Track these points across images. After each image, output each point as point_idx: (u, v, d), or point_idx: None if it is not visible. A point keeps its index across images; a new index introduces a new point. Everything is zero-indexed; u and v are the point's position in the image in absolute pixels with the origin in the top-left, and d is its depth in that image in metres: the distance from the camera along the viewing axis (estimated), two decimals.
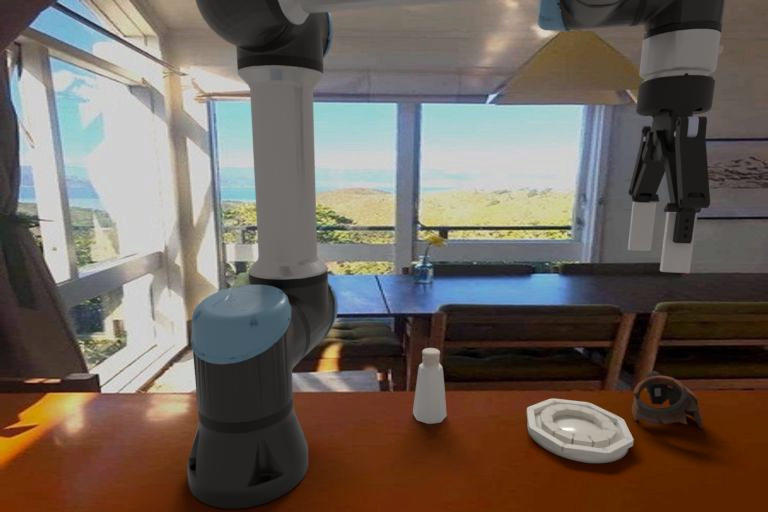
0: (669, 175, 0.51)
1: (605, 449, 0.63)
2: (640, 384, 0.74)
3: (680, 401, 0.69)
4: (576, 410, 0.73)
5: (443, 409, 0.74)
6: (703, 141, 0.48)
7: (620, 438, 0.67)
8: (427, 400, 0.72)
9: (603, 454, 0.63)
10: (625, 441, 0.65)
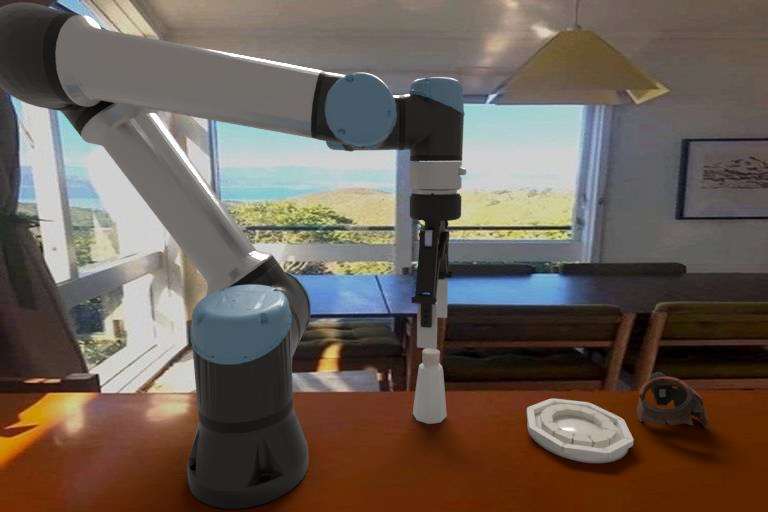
0: None
1: (605, 449, 0.63)
2: (645, 385, 0.74)
3: (686, 402, 0.68)
4: (576, 410, 0.73)
5: (443, 409, 0.74)
6: (435, 250, 0.63)
7: (620, 438, 0.67)
8: (427, 400, 0.72)
9: (603, 454, 0.63)
10: (625, 441, 0.65)
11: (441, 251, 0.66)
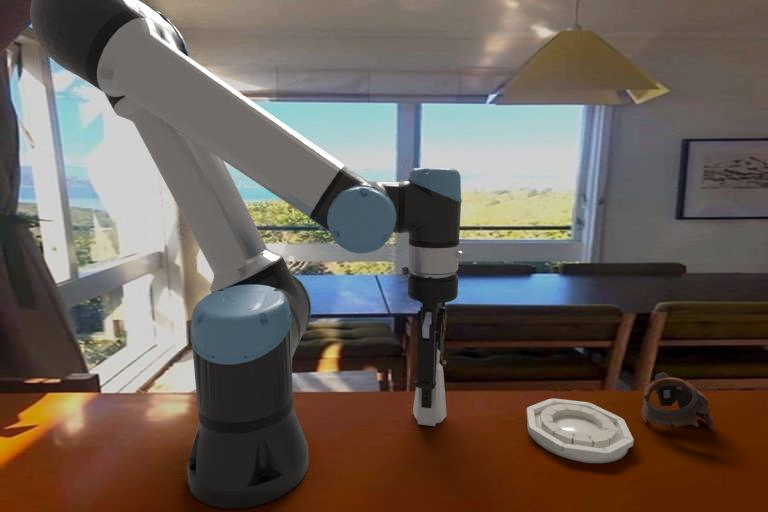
0: None
1: (605, 449, 0.63)
2: (650, 386, 0.74)
3: (691, 403, 0.68)
4: (576, 410, 0.73)
5: (443, 409, 0.74)
6: (432, 343, 0.66)
7: (620, 438, 0.67)
8: None
9: (603, 454, 0.63)
10: (625, 441, 0.65)
11: (438, 335, 0.70)
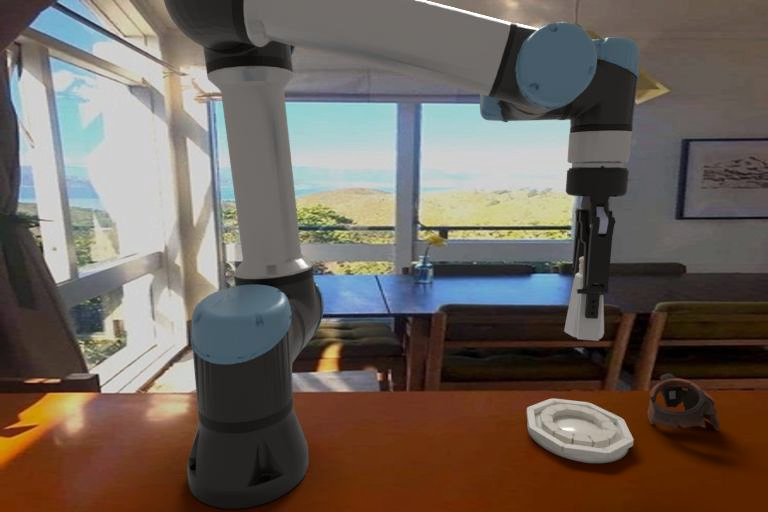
0: (585, 260, 0.62)
1: (605, 449, 0.63)
2: (656, 387, 0.73)
3: (698, 404, 0.68)
4: (576, 410, 0.73)
5: (602, 324, 0.66)
6: (610, 239, 0.58)
7: (620, 438, 0.67)
8: None
9: (603, 454, 0.63)
10: (625, 441, 0.65)
11: None
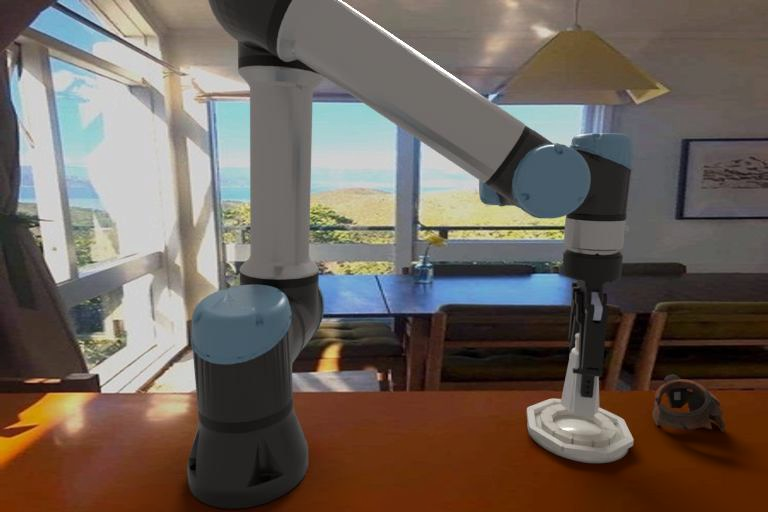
0: (580, 341, 0.64)
1: (605, 449, 0.63)
2: (661, 388, 0.73)
3: (704, 406, 0.67)
4: None
5: (598, 399, 0.68)
6: (604, 326, 0.60)
7: (620, 438, 0.67)
8: None
9: (603, 454, 0.63)
10: (625, 441, 0.65)
11: None
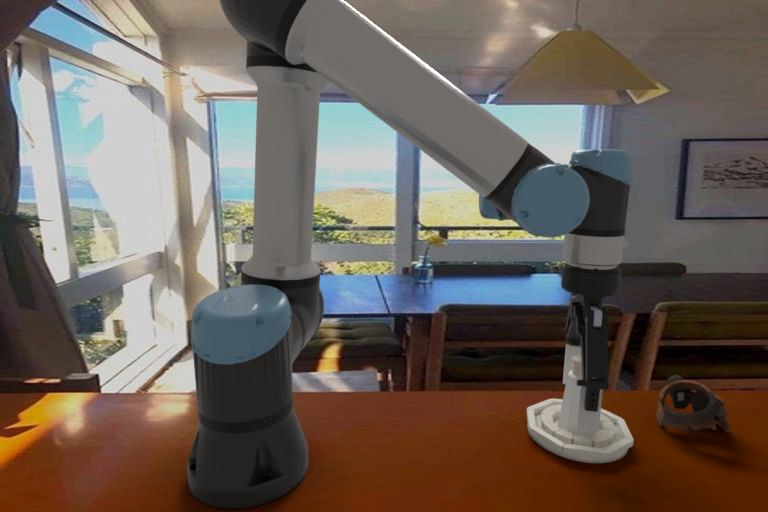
0: (582, 351, 0.62)
1: (605, 449, 0.63)
2: (665, 389, 0.73)
3: (709, 406, 0.67)
4: None
5: None
6: (605, 332, 0.59)
7: (620, 438, 0.67)
8: None
9: (603, 454, 0.63)
10: (625, 441, 0.65)
11: None
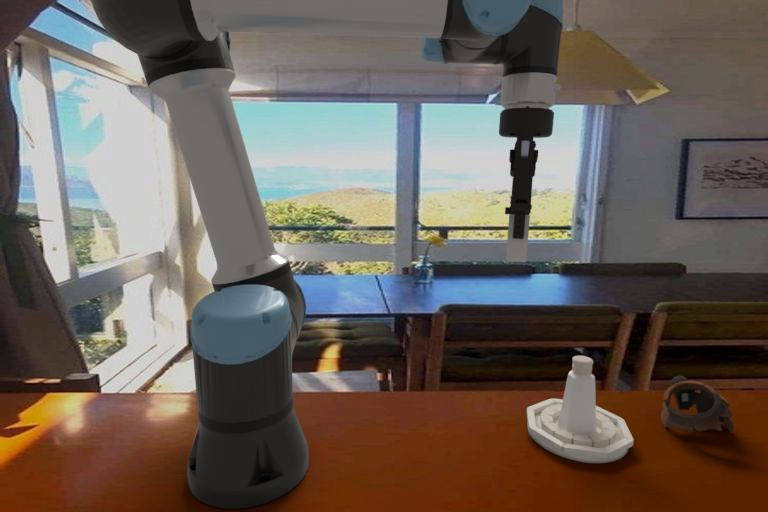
0: None
1: (605, 449, 0.63)
2: (669, 390, 0.72)
3: (714, 407, 0.67)
4: None
5: (594, 421, 0.68)
6: (531, 160, 0.62)
7: (620, 438, 0.67)
8: (580, 412, 0.67)
9: (603, 454, 0.63)
10: (625, 441, 0.65)
11: (533, 166, 0.66)
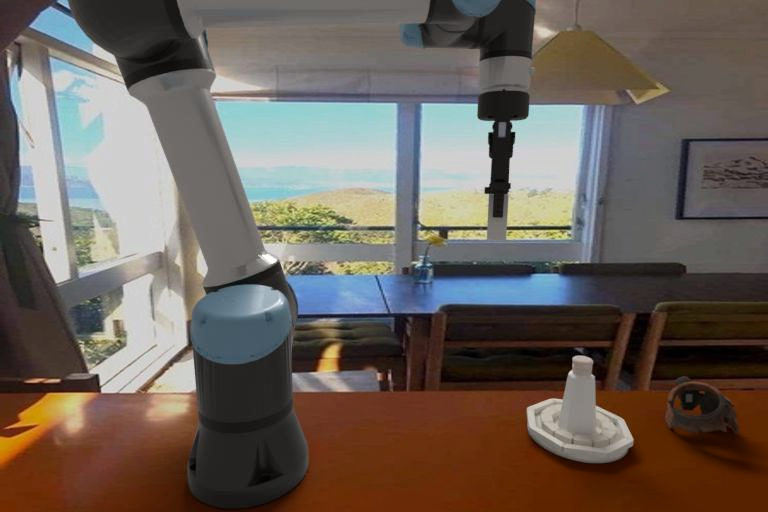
0: None
1: (605, 449, 0.63)
2: (674, 391, 0.72)
3: (719, 408, 0.67)
4: None
5: (594, 421, 0.68)
6: (509, 140, 0.64)
7: (620, 438, 0.67)
8: (580, 412, 0.67)
9: (603, 454, 0.63)
10: (625, 441, 0.65)
11: (511, 147, 0.68)
